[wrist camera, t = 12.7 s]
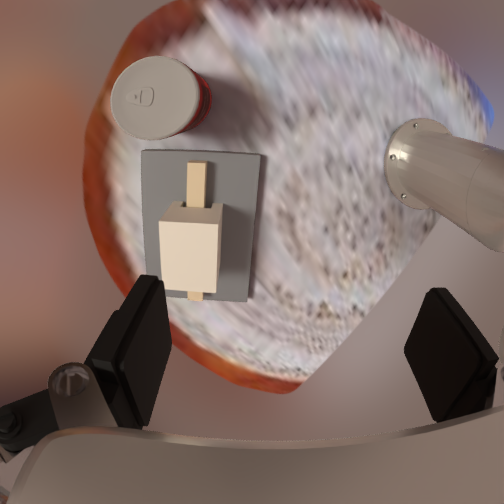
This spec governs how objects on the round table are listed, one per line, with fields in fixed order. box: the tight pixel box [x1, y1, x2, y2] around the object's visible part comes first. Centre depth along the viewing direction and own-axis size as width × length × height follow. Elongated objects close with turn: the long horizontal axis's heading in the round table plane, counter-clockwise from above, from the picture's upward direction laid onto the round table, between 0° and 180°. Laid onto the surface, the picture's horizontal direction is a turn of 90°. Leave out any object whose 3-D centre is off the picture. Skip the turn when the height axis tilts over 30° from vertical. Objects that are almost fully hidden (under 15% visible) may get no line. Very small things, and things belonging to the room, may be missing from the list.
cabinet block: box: [159, 201, 223, 293], centre depth 35 cm, size 6×9×7 cm
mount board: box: [141, 149, 261, 302], centre depth 37 cm, size 14×20×3 cm
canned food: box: [110, 56, 212, 140], centre depth 27 cm, size 8×8×11 cm
